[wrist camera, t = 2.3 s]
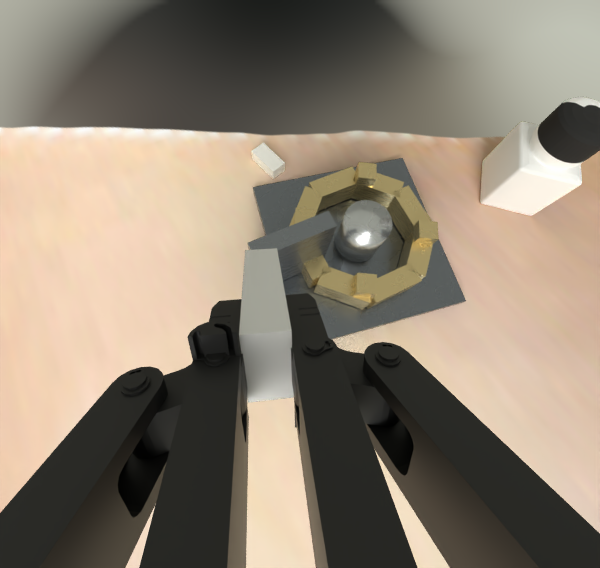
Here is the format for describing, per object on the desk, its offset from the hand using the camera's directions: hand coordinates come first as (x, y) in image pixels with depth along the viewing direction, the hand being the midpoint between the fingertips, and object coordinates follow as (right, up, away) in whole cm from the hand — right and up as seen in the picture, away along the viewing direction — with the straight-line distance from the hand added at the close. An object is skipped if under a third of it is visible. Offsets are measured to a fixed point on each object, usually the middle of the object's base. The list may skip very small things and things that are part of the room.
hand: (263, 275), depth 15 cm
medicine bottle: (+30, +12, +26) cm, 41 cm away
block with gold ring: (+6, +4, +20) cm, 21 cm away
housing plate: (+8, +4, +22) cm, 24 cm away
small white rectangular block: (-2, +15, +24) cm, 29 cm away
